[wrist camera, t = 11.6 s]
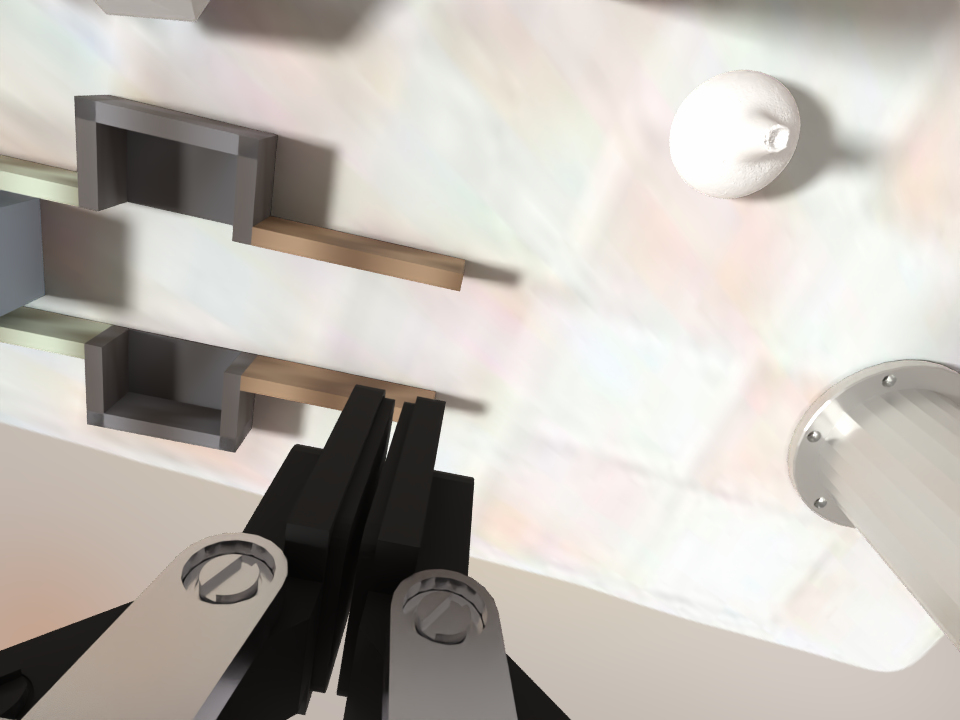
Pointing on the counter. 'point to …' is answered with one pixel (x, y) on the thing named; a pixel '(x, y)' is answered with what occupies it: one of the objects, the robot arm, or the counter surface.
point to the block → (20, 251)
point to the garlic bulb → (734, 134)
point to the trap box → (247, 206)
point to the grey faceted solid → (155, 8)
